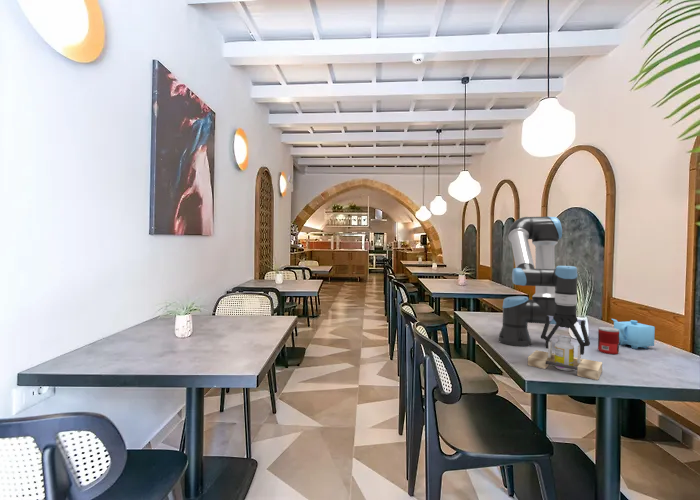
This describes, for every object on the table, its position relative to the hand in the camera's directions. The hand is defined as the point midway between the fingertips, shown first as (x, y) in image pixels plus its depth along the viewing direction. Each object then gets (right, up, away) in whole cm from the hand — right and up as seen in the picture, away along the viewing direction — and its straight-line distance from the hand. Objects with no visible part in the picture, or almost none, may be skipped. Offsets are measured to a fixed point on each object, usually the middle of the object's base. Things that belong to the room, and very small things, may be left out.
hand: (564, 359), depth 146 cm
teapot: (+54, -4, +38) cm, 66 cm away
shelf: (0, -4, 0) cm, 4 cm away
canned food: (+35, -4, +24) cm, 43 cm away
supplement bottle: (0, -4, 0) cm, 4 cm away
